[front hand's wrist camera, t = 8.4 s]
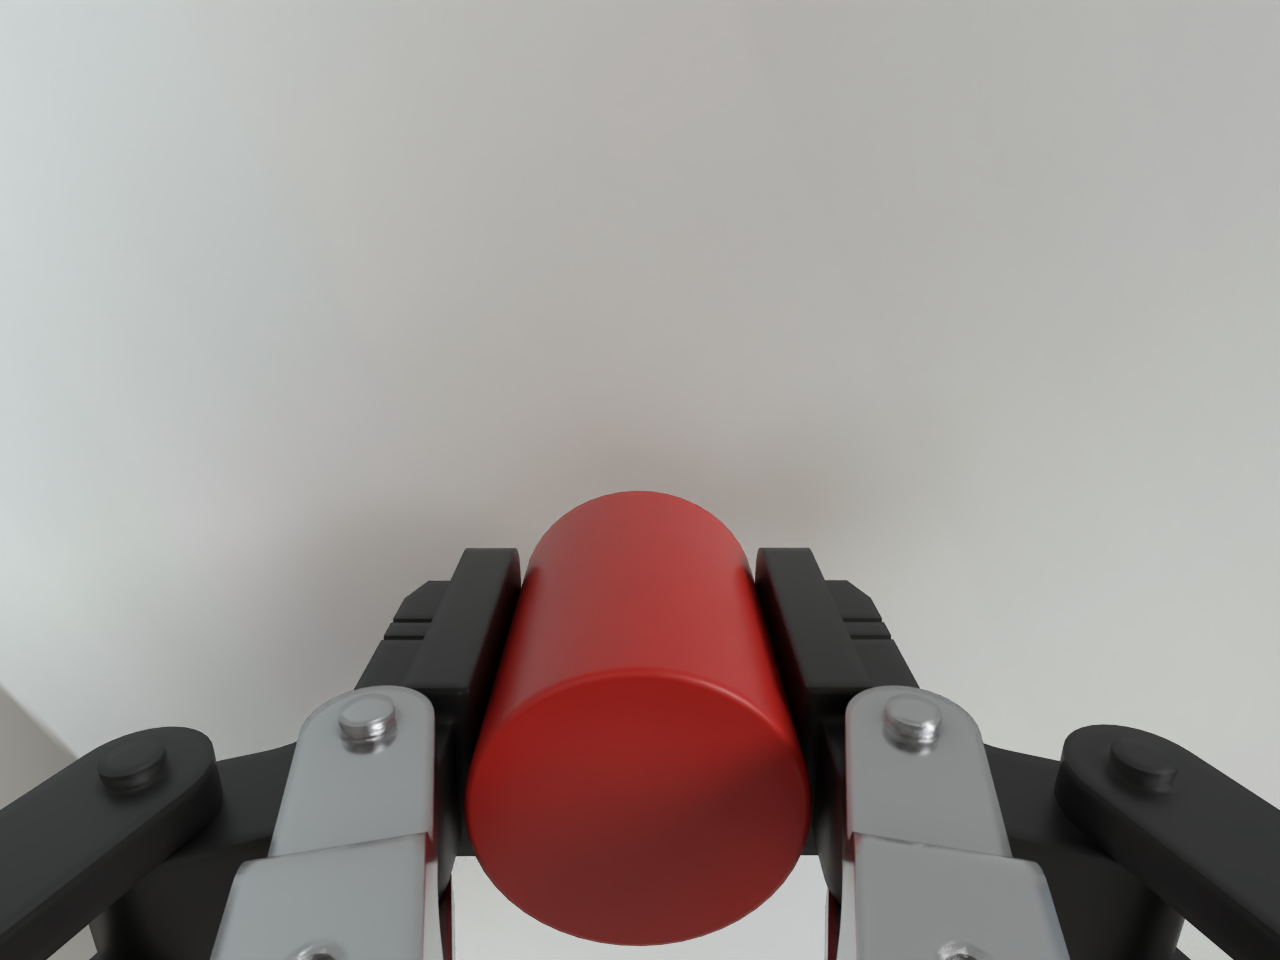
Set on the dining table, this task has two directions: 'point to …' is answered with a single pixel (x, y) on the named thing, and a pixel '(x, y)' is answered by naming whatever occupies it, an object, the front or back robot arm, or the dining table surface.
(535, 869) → the canister
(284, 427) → the dining table surface
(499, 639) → the front robot arm
